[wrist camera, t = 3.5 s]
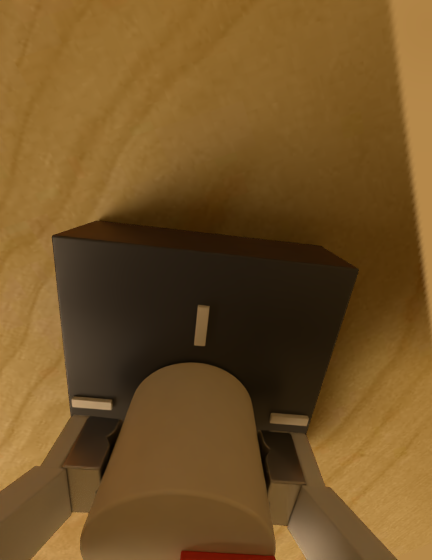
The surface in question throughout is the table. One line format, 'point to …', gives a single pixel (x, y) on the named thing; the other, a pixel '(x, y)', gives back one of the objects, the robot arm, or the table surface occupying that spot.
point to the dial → (183, 475)
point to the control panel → (197, 315)
